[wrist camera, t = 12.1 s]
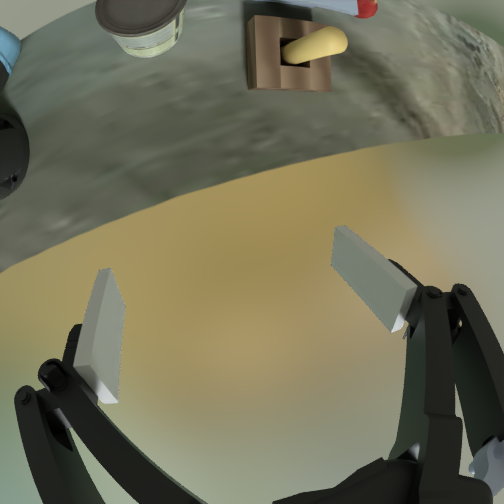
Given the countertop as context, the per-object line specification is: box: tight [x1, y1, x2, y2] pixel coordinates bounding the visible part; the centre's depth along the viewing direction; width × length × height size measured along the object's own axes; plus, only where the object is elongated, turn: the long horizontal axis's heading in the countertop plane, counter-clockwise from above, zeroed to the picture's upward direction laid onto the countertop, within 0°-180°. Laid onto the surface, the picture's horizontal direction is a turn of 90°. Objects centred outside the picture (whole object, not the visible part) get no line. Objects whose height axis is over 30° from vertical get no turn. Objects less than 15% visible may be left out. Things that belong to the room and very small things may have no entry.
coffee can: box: [95, 0, 187, 58], centre depth 23 cm, size 10×10×14 cm
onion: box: [355, 0, 378, 18], centre depth 29 cm, size 6×6×8 cm
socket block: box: [246, 15, 331, 92], centre depth 34 cm, size 12×12×5 cm
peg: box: [280, 26, 347, 66], centre depth 30 cm, size 4×4×16 cm
